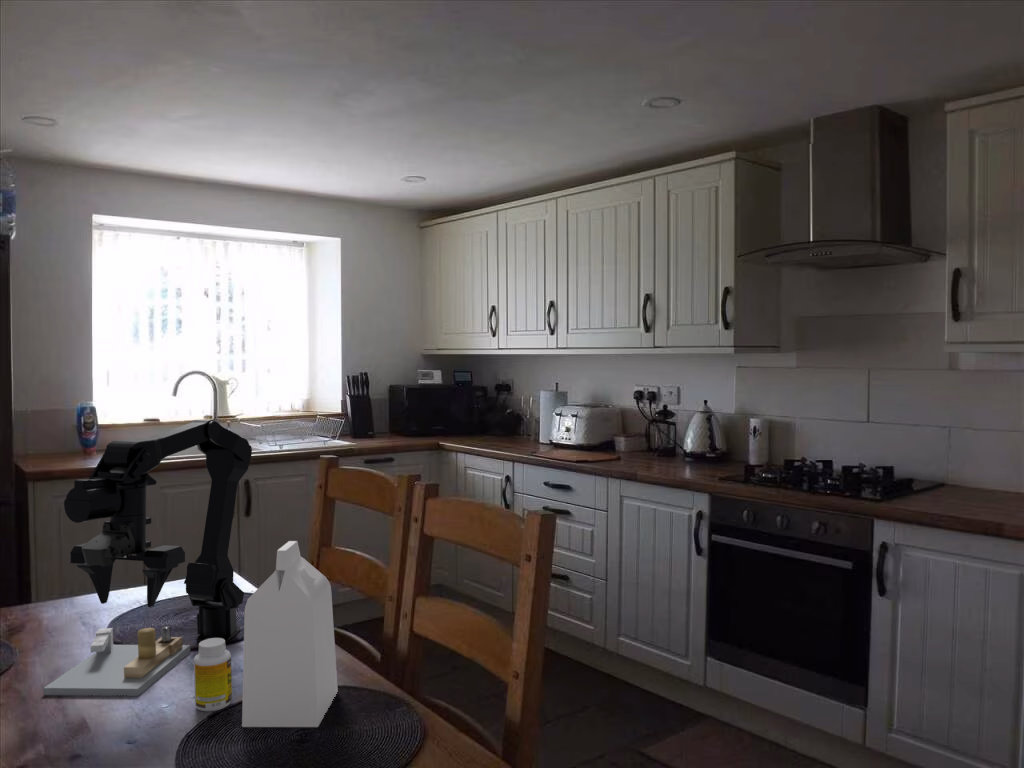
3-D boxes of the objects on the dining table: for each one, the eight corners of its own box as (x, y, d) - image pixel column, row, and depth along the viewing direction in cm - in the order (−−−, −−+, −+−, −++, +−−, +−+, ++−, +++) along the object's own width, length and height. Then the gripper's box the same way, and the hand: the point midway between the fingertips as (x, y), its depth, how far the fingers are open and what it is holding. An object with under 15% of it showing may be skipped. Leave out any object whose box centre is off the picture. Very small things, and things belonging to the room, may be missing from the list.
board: (190, 651, 150) (190, 645, 150) (138, 695, 131) (137, 688, 131) (107, 650, 151) (107, 644, 151) (43, 695, 132) (43, 688, 132)
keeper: (113, 647, 149) (112, 627, 149) (105, 664, 141) (104, 643, 141) (99, 649, 149) (98, 629, 148) (90, 666, 141) (89, 644, 141)
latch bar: (161, 646, 149) (160, 613, 149) (182, 646, 149) (181, 613, 149) (121, 677, 135) (119, 641, 135) (144, 677, 135) (142, 641, 135)
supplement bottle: (234, 708, 126) (232, 644, 126) (196, 716, 124) (194, 651, 123) (230, 694, 131) (228, 633, 131) (193, 701, 129) (191, 639, 128)
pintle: (173, 649, 148) (172, 626, 148) (169, 652, 146) (168, 629, 146) (164, 649, 148) (163, 626, 148) (160, 652, 146) (159, 629, 146)
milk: (268, 692, 132) (264, 536, 131) (337, 692, 132) (333, 536, 130) (241, 727, 120) (236, 556, 119) (317, 727, 120) (313, 555, 118)
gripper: (44, 519, 131) (43, 614, 131) (144, 523, 127) (143, 622, 127) (94, 509, 142) (93, 597, 142) (187, 513, 138) (186, 603, 138)
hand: (127, 604), depth 137 cm, fingers open, 9 cm apart
